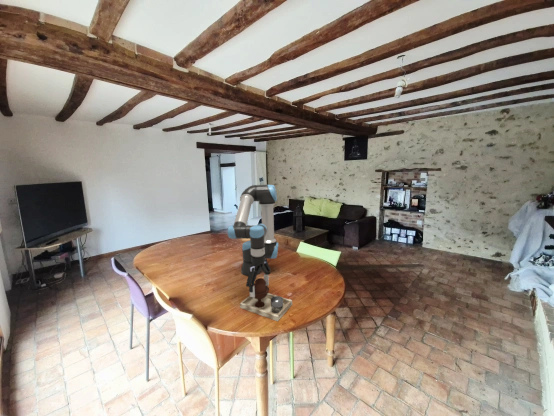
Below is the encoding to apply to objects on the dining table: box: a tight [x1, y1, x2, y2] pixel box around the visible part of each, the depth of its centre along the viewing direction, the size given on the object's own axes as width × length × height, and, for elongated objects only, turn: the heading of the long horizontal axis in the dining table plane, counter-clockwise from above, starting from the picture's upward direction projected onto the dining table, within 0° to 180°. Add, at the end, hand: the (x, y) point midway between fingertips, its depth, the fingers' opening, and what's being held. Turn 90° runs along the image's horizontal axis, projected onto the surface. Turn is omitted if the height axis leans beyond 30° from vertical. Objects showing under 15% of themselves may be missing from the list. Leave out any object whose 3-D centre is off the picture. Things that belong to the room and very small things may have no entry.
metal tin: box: [271, 295, 284, 313], centre depth 120 cm, size 6×6×6 cm
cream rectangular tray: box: [239, 292, 293, 322], centre depth 124 cm, size 24×16×4 cm, turn 60°
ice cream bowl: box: [253, 277, 270, 308], centre depth 124 cm, size 11×11×15 cm
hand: (259, 290), depth 125 cm, fingers open, 13 cm apart
